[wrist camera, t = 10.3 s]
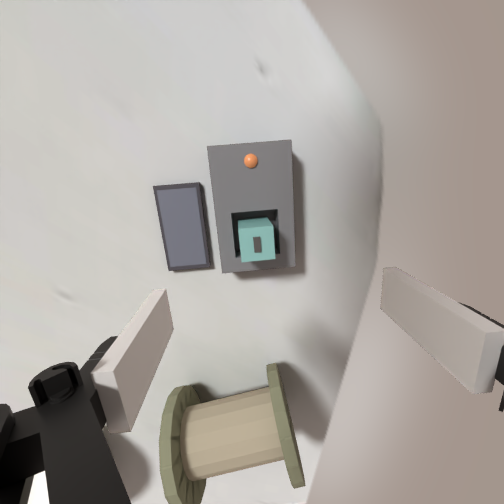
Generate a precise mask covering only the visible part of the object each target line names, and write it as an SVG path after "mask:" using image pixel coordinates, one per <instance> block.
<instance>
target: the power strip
mask: <svg viewBox="0 0 504 504" xmlns="http://www.w3.org/2000/svg"><path fill="white" fill-rule="evenodd" d="M207 151H208V159H209V167H210V176H211V184H212V192H213V201H214V209H215V217H216V226H217V234H218V242H219V250H220V259H221V267H222V273H231V272H242V271H252V270H263V269H274V268H285V267H295V236H294V204H293V173H292V141H291V140H281V141H268V142H255V143H242V144H230V145H217V146H207ZM266 216H267V218H268V219H269V221H270V222H271V223H272V225H273V230H274V245H275V259H270V260H260V261H250V262H242V261H241V252H240V242H239V233H238V219H245V218H256V217H266Z"/></svg>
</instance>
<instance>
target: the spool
mask: <svg viewBox="0 0 504 504" xmlns="http://www.w3.org/2000/svg"><path fill="white" fill-rule="evenodd" d="M267 377H268V384H269V387H266V388H262V389H258V390H254V391H250V392H246V393H242V394H238V395H233V396H229V397H225V398H221V399H217V400H213V401H209V402H205V403H201V402H200V400H199V397H198V395H197V392H196V391H195V390H194V389H193V388H192V386H191V385H188V386H180V387H176V388H175V389H174V390H173V391H172V392H171V394H170V395H169V396H168V398H167V401H166V405H165V408H164V411H163V414H162V421H161V429H160V437H159V456H160V474H161V479H162V484H163V489H164V494H165V498H166V500H167V501H168V503H169V504H200V503H201V501H202V497H203V493H204V490H205V486H206V478H209V477H213V476H217V475H222V474H226V473H230V472H234V471H238V470H242V469H247V468H251V467H255V466H259V465H263V464H267V463H272V462H276V461H280V460H285V464H286V468H287V471H288V475H289V478H290V481H291V484H292V486H293V488H299V487H303V486H305V480H304V474H303V469H302V464H301V460H300V455H299V450H298V446H297V441H296V437H295V433H294V429H293V424H292V420H291V416H290V412H289V408H288V404H287V400H286V396H285V392H284V388H283V384H282V380H281V377H280V373H279V370H278V366H277V364H276V363H273V364H269V365H267Z"/></svg>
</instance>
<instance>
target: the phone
mask: <svg viewBox="0 0 504 504" xmlns="http://www.w3.org/2000/svg"><path fill="white" fill-rule="evenodd" d="M153 189H154V194H155V200H156V205H157V211H158V216H159V221H160V227H161V232H162V238H163V243H164V248H165V254H166V259H167V265H168V270H169V271H173V270H184V269H195V268H206V267H210V265H211V264H210V257H209V249H208V242H207V234H206V227H205V220H204V212H203V205H202V197H201V190H200V182H197V183H185V184H173V185H161V186H153Z"/></svg>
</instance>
